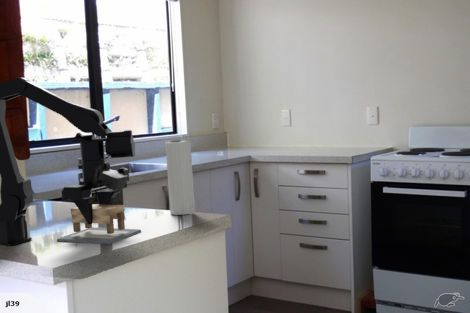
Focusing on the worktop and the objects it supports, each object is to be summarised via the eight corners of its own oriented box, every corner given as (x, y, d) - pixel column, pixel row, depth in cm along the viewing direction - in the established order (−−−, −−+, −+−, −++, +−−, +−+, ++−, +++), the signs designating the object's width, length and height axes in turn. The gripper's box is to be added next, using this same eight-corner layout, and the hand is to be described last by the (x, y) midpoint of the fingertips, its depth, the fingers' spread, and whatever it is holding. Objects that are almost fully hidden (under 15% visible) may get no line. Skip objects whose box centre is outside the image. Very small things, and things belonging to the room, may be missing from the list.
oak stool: (72, 232, 147) (70, 208, 147) (88, 226, 153) (86, 204, 152) (111, 234, 142) (109, 209, 142) (126, 228, 148) (124, 205, 147)
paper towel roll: (167, 213, 174) (162, 141, 172) (187, 210, 176) (182, 139, 175) (175, 217, 168) (170, 142, 166) (195, 214, 170) (190, 140, 168)
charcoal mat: (109, 244, 138) (109, 241, 138) (57, 241, 145) (56, 238, 145) (141, 231, 150) (140, 229, 150) (91, 229, 157) (91, 227, 157)
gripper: (94, 163, 134) (100, 231, 136) (141, 155, 151) (146, 215, 152) (57, 164, 139) (62, 229, 140) (106, 156, 156) (111, 214, 157)
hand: (98, 221), depth 147 cm, fingers closed on oak stool, 6 cm apart
